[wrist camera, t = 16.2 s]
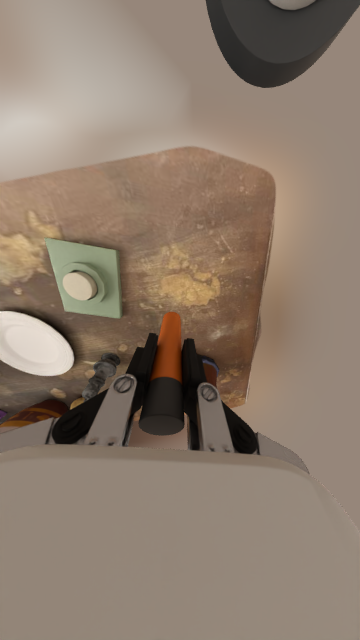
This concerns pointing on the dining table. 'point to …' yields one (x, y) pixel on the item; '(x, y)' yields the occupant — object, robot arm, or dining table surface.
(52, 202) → the dining table surface
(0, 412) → the cereal box
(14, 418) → the jug
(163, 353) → the marker
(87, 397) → the chess piece
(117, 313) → the push button block
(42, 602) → the robot arm
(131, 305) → the dining table surface
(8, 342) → the plate
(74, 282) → the circle pad
